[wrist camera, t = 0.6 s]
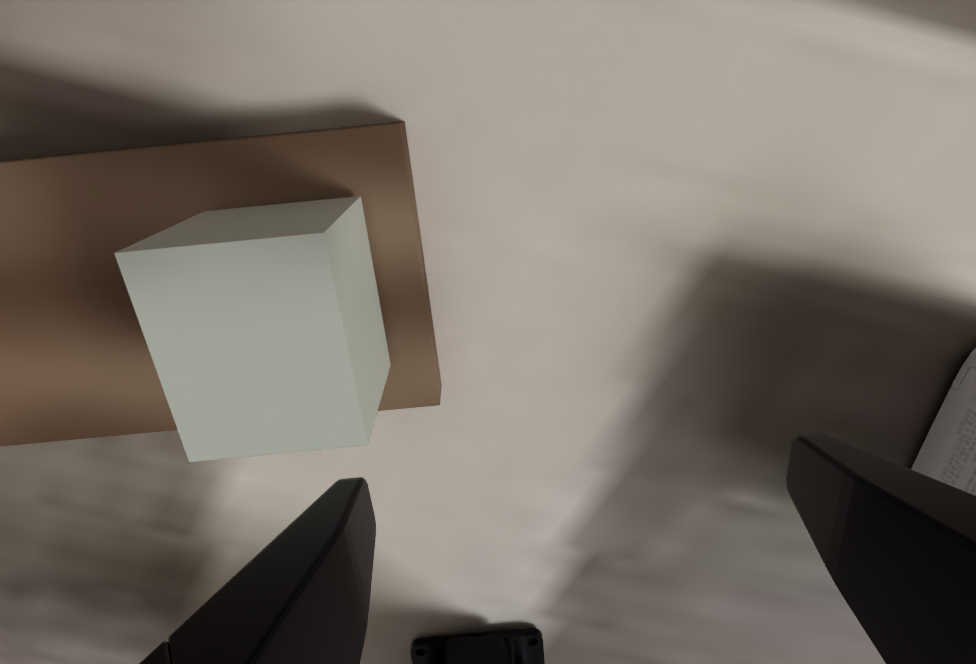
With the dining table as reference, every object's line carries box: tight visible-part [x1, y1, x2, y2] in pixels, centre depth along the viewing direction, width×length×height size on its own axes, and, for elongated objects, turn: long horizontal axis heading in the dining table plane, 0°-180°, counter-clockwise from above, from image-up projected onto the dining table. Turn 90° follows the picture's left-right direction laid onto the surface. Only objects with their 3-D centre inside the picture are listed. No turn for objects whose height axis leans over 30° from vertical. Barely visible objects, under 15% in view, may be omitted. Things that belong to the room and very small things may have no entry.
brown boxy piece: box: [0, 121, 441, 446], centre depth 18 cm, size 10×22×6 cm, turn 95°
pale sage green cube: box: [114, 196, 391, 462], centre depth 17 cm, size 6×5×5 cm
